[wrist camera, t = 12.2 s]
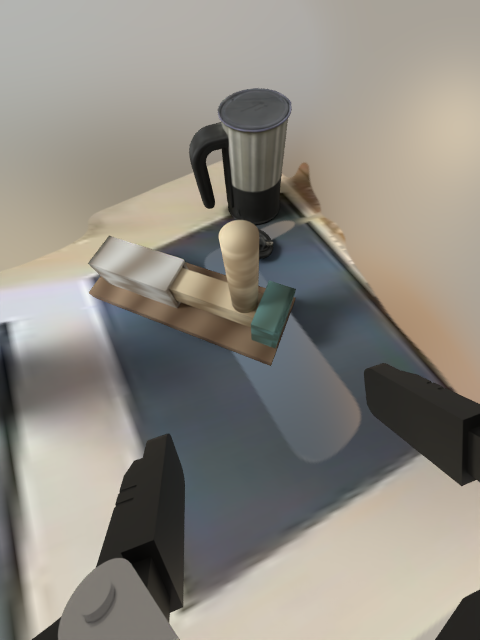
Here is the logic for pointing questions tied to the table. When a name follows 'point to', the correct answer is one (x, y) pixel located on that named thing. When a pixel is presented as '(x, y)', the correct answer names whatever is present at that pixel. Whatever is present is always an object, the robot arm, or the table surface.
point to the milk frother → (246, 156)
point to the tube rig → (159, 305)
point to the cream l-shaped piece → (241, 272)
